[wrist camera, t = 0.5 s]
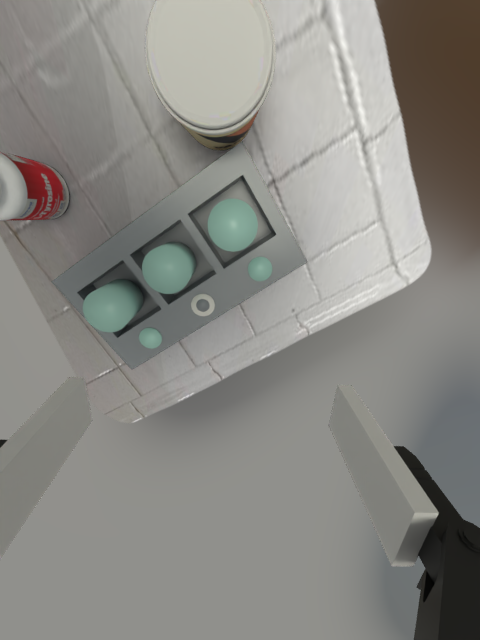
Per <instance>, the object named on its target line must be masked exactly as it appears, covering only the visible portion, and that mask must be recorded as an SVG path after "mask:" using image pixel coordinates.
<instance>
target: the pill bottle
mask: <svg viewBox="0 0 480 640" xmlns="http://www.w3.org/2000/svg"><path fill="white" fill-rule="evenodd" d="M68 203H69V191H68V188H67V185H66V183H65V181H64V179H63V178H62V177H61V175H60V174H59V173H58V172H57V171H56V170H54V169H53V168H52V167H50V166H48V165H46V164H44V163H40V162H37V161H34V160H30V159H26V158H23V157H19V156H16V155H12V154H8V153H5V152H1V151H0V220H46V219H54V218H57V217H59V216H61V215H62V214H63V213H64V212H65V211H66V209H67V207H68Z"/></svg>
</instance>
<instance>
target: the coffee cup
mask: <svg viewBox="0 0 480 640" xmlns="http://www.w3.org/2000/svg"><path fill="white" fill-rule="evenodd" d="M145 55H146V63H147V68H148V73H149V76H150V79H151V82H152V85H153V87H154V90H155V92H156V94H157V96H158V98H159V99H160V101H161V103H162V104H163V106H164V107H165V108H166V109H167V111H168V112H169V113H170V114H171V115H172V116H173V117H174V118H175V119H176V120H177V121H179V122H180V123H181V124H182V125H183V126H184V128H185V129H186V130H187V131H188V132H189V133H190V134H191V135H192V136H193V137H194V138H195V139H196V140H197V141H198V142H199V143H201V144H202V145H204V146H205V147H207V148H210V149H213V150H226V149H230V148H232V147H234V146H236V145H237V144H238V143H240V142H241V141H242V140H243V139H244V137H245V136H246V135H247V133H248V131H249V130H250V128H251V126H252V124H253V122H254V119H255V117H256V115H257V113H258V111H259V109H260V107H261V106H262V104H263V102H264V100H265V99H266V96H267V94H268V92H269V89H270V86H271V83H272V79H273V75H274V69H275V39H274V33H273V29H272V25H271V21H270V19H269V16H268V13H267V11H266V9H265V7H264V5H263V3H262V1H261V0H155V2H154V5H153V7H152V10H151V12H150V16H149V19H148V23H147V28H146V36H145Z"/></svg>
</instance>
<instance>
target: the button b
mask: <svg viewBox="0 0 480 640" xmlns="http://www.w3.org/2000/svg"><path fill="white" fill-rule="evenodd" d="M195 269H196V258H195V255H194V253H193V252H192V250H191V249H190V248H189V247H188V246H186V245H185V244H183V243H180V242H168V243H166V244H163V245H161V246H159V247H157V248H154V249H153V250H151V251H150V252H149V253H148V254H147V255H146V256H145V258H144V260H143V264H142V273H143V276H144V279H145V281H146V282H147V284H148V285H149V286H150V287H151V288H152V289H154V290H156V291H157V292H160V293H163V294H173V293H176V292H179V291H180V290H182V289H183V288H184V287H185V286H186V285H187V283H188V282H189V280H190V279H191V277H192V275H193V274H194V272H195Z"/></svg>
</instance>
